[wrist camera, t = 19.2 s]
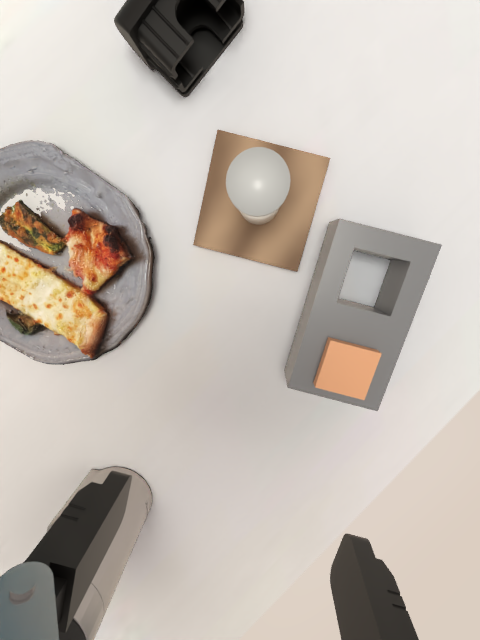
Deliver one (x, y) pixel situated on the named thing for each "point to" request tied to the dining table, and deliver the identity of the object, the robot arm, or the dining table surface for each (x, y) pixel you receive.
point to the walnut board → (274, 236)
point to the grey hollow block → (360, 306)
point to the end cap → (180, 35)
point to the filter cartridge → (258, 184)
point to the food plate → (69, 259)
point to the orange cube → (346, 368)
